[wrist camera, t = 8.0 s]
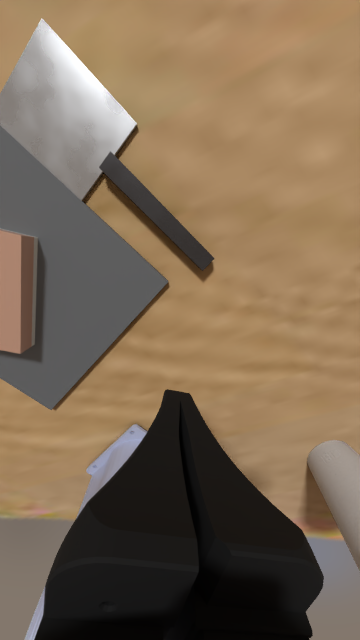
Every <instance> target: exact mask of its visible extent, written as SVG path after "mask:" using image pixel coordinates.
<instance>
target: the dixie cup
mask: <svg viewBox="0 0 360 640" xmlns="http://www.w3.org/2000/svg"><path fill="white" fill-rule="evenodd" d="M307 463H308V466H309V468H310V470H311V472H312V474H313V476H314V479H315V481H316V483H317V485H318V487H319V489H320V491H321V493H322V495H323V497H324V499H325V501H326V503H327V505H328V507H329V509H330V511H331V513H332V515H333V517H334V519H335V521H336V523H337V526H338V528H339V530H340V532H341V534H342V536H343V538H344V540H345V542H346V544H347V546H348V548H349V550H350V552H351V554H352V556H353V558H354V560H355V562H356V564H357V566H358V568H359V570H360V455H359V454H358V453H357V452H356V451H355V450H353V449H352V448H351V447H350V446H349V445H348V444H347V443H345V442H343V441H339V440H331V441H326V442H323V443H321V444H319V445H318V446H316V447H315V448H314V449H313V450H312V451H311V452H310V453H309V455H308V459H307Z"/></svg>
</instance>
